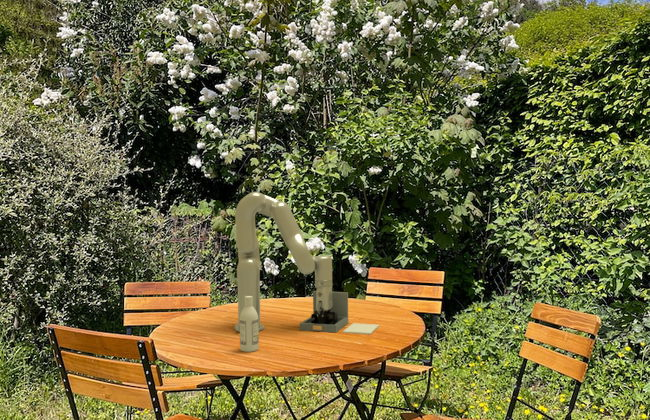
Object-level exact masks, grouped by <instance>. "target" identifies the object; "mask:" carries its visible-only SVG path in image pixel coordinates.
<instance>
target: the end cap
mask: <svg viewBox="0 0 650 420" xmlns="http://www.w3.org/2000/svg"><path fill="white" fill-rule="evenodd" d="M310 317H311V318H313V317H314V320H312V321H311V323H314V324H317V311H315V313H311V316H310ZM324 317H325V324H330V325H334V324H336V323H337V320H338V317H337V313H336V312H326V311H325V312H324Z"/></svg>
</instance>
